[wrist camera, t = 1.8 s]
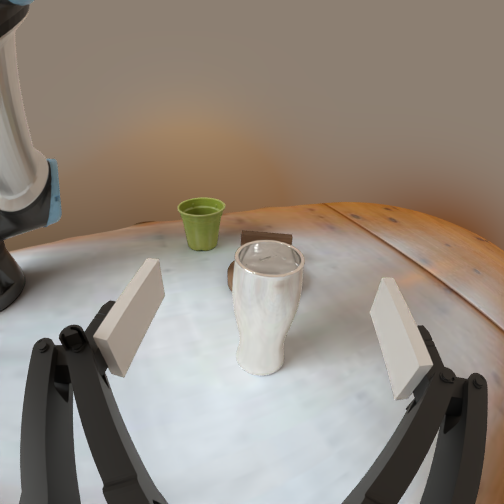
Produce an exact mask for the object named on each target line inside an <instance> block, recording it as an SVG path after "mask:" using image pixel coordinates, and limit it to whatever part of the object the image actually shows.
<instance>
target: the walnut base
mask: <svg viewBox="0 0 504 504" xmlns="http://www.w3.org/2000/svg"><path fill="white" fill-rule="evenodd" d="M258 240H274V241H280V242H283V243H287V244H289V245H292V235H290V234H278V233H267V232H254V231H242V234H241V246H242V245H244V244H246V243H249V242H252V241H258ZM234 264H235V260H234V261H233V262H232V263H231V264H230V266H229V268H228V286H229V288H230V290H231V291H232V286H233V272H234Z"/></svg>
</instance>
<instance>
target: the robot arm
mask: <svg viewBox="0 0 504 504" xmlns="http://www.w3.org/2000/svg"><path fill="white" fill-rule="evenodd" d="M33 1H34V0H0V311H1V310H3V309H4V308H6V307H7V306H8V305H10V304H11V303H12V302H13V301H14V300H15V299H16V298H17V297H18V296H19V294H20V293H21V291H22V290H23V287H24V285H25V277H24V275H23V272H22V270H21V268H20V266H19V265H18V264H17V262H16V261H15V260H14V258H13V257H12V256H11V254H10V253H9V252H8V250H7V249H6V247H5V244H4V241H3V240H5V239H8V238H11V237H14V236H16V235H19V234H22V233H25V232H29V231H32V230H35V229H38V228H41V227H47V226H48V225H50V224H53V223H56V222H57V221H59V220H60V218H61V215H62V212H61V201H60V190H59V178H58V167H57V161H56V160H55V159H46V158H45V156H44V155H43V154H42V153H41V152H40V151H39V150H37V149H34V146H33V143H32V139H31V135H30V131H29V127H28V123H27V119H26V114H25V110H24V105H23V99H22V94H21V88H20V81H19V74H18V66H17V57H16V44H15V30H16V29H17V28H18V27H19V25H20V24H21V23H22V22H23V21H24V20H25V18H26V17H27V15H28V13H29V4H30V3H32V2H33ZM164 297H165V293H164V288H163V282H162V276H161V269H160V263H159V259H153V258H147V259H146V261H145V262H144V263H143V265H142V266H141V267H140V269H139V270H138V271H137V273H136V274H135V275H134V277H133V278H132V280H131V281H130V282H129V284H128V285H127V287H126V288H125V289H124V291H123V292H122V294H121V295H120V297H119V298H118V300H117V301H109V302H107V303H106V304H104V305H103V306H102V307H101V309H100V310H99V312H98V314H97V315H96V316H95V317H94V319H93V320H92V322H91V323H90V325H89V326H88V328H87V329H86V331H85V332H84V331H83V329H82V327H80V326H79V325H70V326H68V327H66V328H64V329H63V330H62V331H61V333H60V335H59V340H60V341H61V343H62V345H54V343H53V341H52V340H51V339H49V338H43V339H40V340H39V341H37V342H36V343H35V344H34V347H33V350H32V355H31V359H30V364H29V370H28V375H27V381H26V388H25V395H24V403H23V412H22V424H21V443H20V470H21V488H22V493H21V497H20V502H19V504H81V502H80V495H79V489H78V482H77V474H76V465H75V454H74V438H73V392H74V396H75V400H76V404H77V408H78V412H79V415H80V419H81V422H82V426H83V429H84V432H85V436H86V439H87V442H88V445H89V448H90V450H91V453H92V456H93V459H94V461H95V464H96V466H97V469H98V471H99V474H100V476H101V479H102V481H103V484H104V486H103V489H102V490H103V494H104V497H105V499H106V501H107V503H108V504H168V503H167V501H166V500H165V498H164V497H163V496H162V495H161V493H160V492H159V491H158V489H157V488H156V486H155V485H154V483H153V481H152V479H151V477H150V476H149V474H148V472H147V470H146V468H145V466H144V464H143V462H142V460H141V458H140V456H139V454H138V452H137V450H136V448H135V446H134V444H133V442H132V440H131V437H130V435H129V433H128V431H127V428H126V426H125V424H124V421H123V419H122V417H121V414H120V412H119V409H118V406H117V404H116V401H115V399H114V396H113V393H112V390H111V387H110V385H109V382H108V379H107V376H106V374H105V371H106V369H107V368H109V370H110V372H111V374H114V375H117V376H121V377H125V375H126V373H127V371H128V369H129V367H130V364H131V362H132V360H133V358H134V356H135V354H136V352H137V350H138V348H139V346H140V344H141V342H142V340H143V338H144V336H145V334H146V332H147V330H148V328H149V326H150V324H151V322H152V320H153V318H154V316H155V314H156V312H157V310H158V308H159V306H160V304H161V302H162V300H163V299H164ZM370 315H371V318H372V321H373V324H374V327H375V331H376V334H377V337H378V340H379V344H380V347H381V350H382V354H383V357H384V361H385V364H386V368H387V372H388V375H389V379H390V383H391V387H392V391H393V395H394V399H395V400H401V399H408V398H409V396H410V395H411V394H412V393H413V394H414V397H415V398H414V400H413V401H412V402H411V403H410V404H409V405H408V407H407V408H406V410H407V409H408V410H407V411H406V413H405V415H404V417H403V419H402V420H401V422H400V424H399V425H398V427H397V429H396V430H395V432H394V434H393V435H392V437H391V438H390V440H389V442H388V443H387V445H386V446H385V448H384V449H383V451H382V452H381V454H380V455H379V456H378V458H377V459H376V461H375V462H374V464H373V465H372V466H371V468H370V469H369V470H368V472H367V473H366V474H365V476H364V477H363V478H362V480H361V481H360V482H359V483H358V485H357V486H356V487H355V488H354V490H353V491H352V492H351V493H350V494H349V496H348V497H347V498H346V499H345V500H344V501H343V502H342V504H397V503H398V502H399V500H400V499H401V497H402V496H403V494H404V493H405V491H406V490H407V488H408V486H409V485H410V483H411V482H412V480H413V478H414V476H415V475H416V473H417V471H418V469H419V468H420V466H421V464H422V462H423V460H424V458H425V456H426V454H427V452H428V451H429V449H430V446H431V444H432V442H433V440H434V438H435V436H436V434H437V431H438V429H439V427H440V429H439V434H438V439H437V444H436V449H435V453H434V458H433V462H432V466H431V469H430V473H429V477H428V480H427V483H426V487H425V490H424V493H423V496H422V499H421V502H420V504H475V502H476V498H477V494H478V489H479V485H480V479H481V474H482V468H483V461H484V453H485V444H486V432H487V409H488V393H487V382H486V380H485V378H484V377H483V376H482V375H480V374H478V373H473V374H471V375H470V376H469V378H468V379H464V378H459V377H456V375H455V374H454V372H453V371H452V370H451V369H449V368H446V367H444V365H443V363H442V360H441V358H440V356H439V353H438V351H437V349H436V347H435V344H434V342H433V341H432V338H431V335H430V333H429V332H428V331H427V329H426V328H425V327H424V326H423V325H422V326H417V325H416V323H415V321H414V319H413V316H412V314H411V312H410V310H409V308H408V306H407V304H406V302H405V300H404V298H403V296H402V294H401V292H400V290H399V288H398V286H397V284H396V282H395V280H394V278H388V277H382V279H381V282H380V285H379V288H378V291H377V294H376V297H375V299H374V302H373V305H372V308H371V310H370Z"/></svg>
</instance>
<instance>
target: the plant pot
mask: <svg viewBox="0 0 504 504" xmlns="http://www.w3.org/2000/svg"><path fill="white" fill-rule="evenodd" d="M224 209H225V204H224V203H223V202H222V201H220V200H218V199H213V198H194V199H189V200H186V201H184V202H182V203H180V204H179V205H178V211H179V212H180V214H181V217H182V219H183V223H184V228H185V233H186V237H187V242H188V246H189V247H190V248H191V249H193V250H197V251H198V250H204V251H207V250H210V249H213V248H214V247H215V246H216V245H217V240H218V232H219V225H220V219H221V216H222V212H223V210H224Z"/></svg>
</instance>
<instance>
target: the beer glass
mask: <svg viewBox="0 0 504 504" xmlns="http://www.w3.org/2000/svg"><path fill="white" fill-rule="evenodd" d="M304 262H305V260H304V256H303V255H302V253H301V252H300V251H299V250H298V249H297V248H295V247H293V246H291V245H289V244H287V243H283V242H280V241H274V240H258V241H252V242H249V243H246V244H244V245H242V246H241V247H239V248H238V250H237V251H236V253H235V264H234V272H233V286H232V296H233V307H234V313H235V318H236V322H237V326H238V331H239V337H240V340H239V345H238V348H237V352H236V360H237V363H238V365H239V366H240V367H241V368H242V369H243V370H244V371H246V372H247V373H249V374H252V375H257V376H265V375H270V374H272V373H274V372H276V371H277V370H279V369H280V367H281V366H282V364H283V362H284V350H283V346H284V342H285V338H286V336H287V333H288V331H289V329H290V327H291V325H292V322H293V320H294V318H295V315H296V312H297V310H298V306H299V302H300V297H301V291H302V283H303V269H304Z"/></svg>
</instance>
